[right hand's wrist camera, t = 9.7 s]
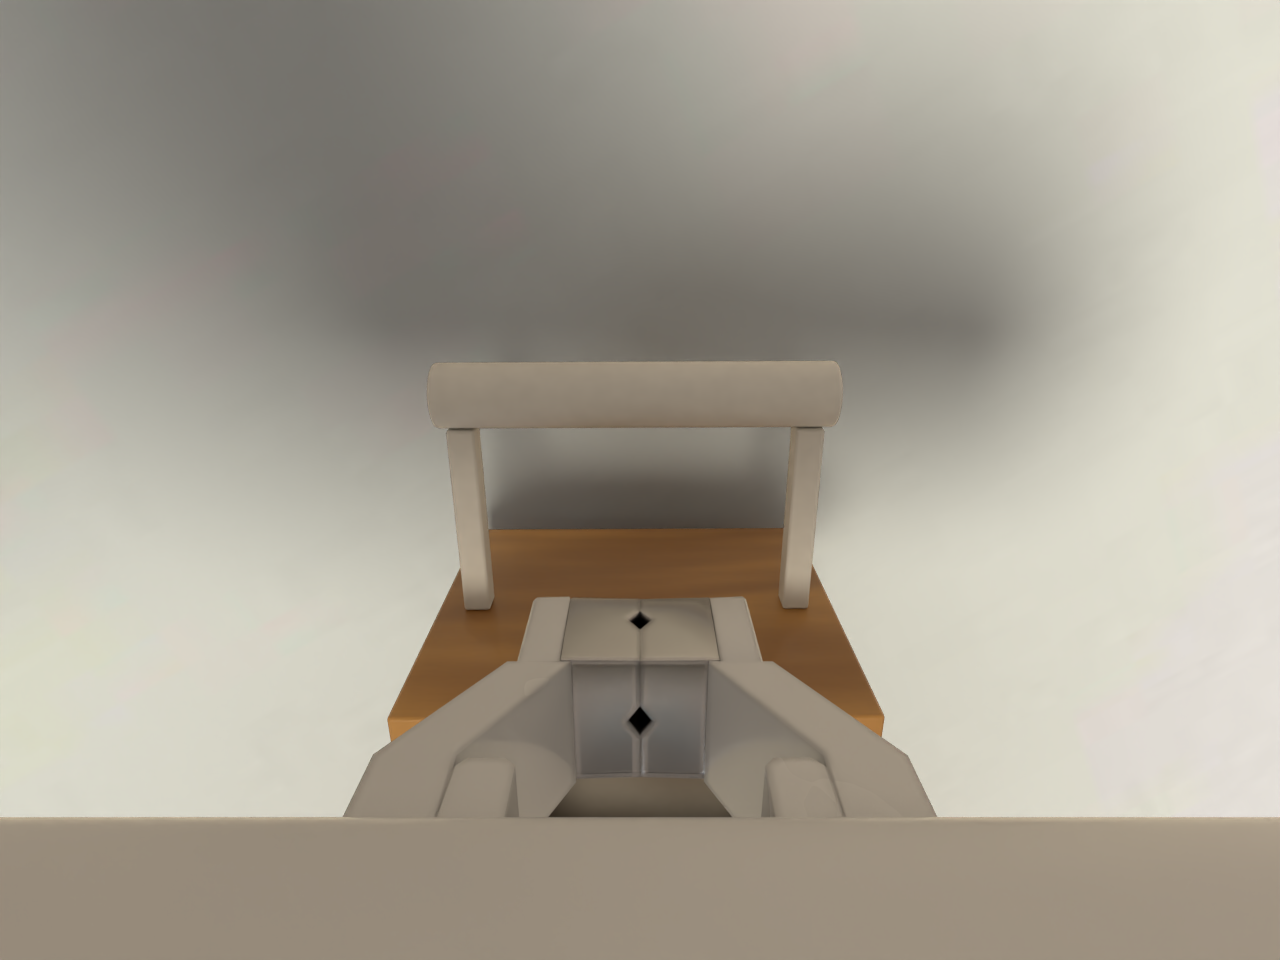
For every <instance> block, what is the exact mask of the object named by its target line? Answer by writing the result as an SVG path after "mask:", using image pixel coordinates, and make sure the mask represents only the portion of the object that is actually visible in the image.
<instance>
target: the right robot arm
mask: <svg viewBox="0 0 1280 960" xmlns="http://www.w3.org/2000/svg"><path fill="white" fill-rule="evenodd" d="M622 777H656V778H693V779H704V782H705V784H706V785H707V786H708V787H709V789H710V790H711V791H712V792H713V794H714V795H715V796H716V797H717V799H718V800H719V801H720V802H721V804H722V805H723V806H724V807H725V809H726V810H727V811H728V812H729V814H730V815H731V816H732V817H549V816H550V814H551V813H552V812H553V811H554V809H555V808H556V807H557V806H558V804H559V803H560V802H561V801H562V799H563V798H564V797H565V796H566V794H567V793H568V792H569V791H570V789H571V788H572V787H573V786H574V784H575V783H576V779H587V778H622ZM0 960H1280V817H937V816H936V813H935V811H934V809H933V807H932V805H931V803H930V801H929V799H928V797H927V795H926V793H925V791H924V788H923V786H922V784H921V782H920V780H919V778H918V776H917V774H916V772H915V770H914V768H913V766H912V763H911V761H910V759H909V757H908V755H906V754H905V753H903V752H902V751H900V750H899V749H898V748H896V747H895V746H893V745H892V744H890V743H889V742H888V741H886V740H885V739H883V738H882V737H880V736H879V735H878V734H876V733H875V732H873V731H872V730H870V729H869V728H868V727H866V726H865V725H863V724H862V723H860V722H859V721H857V720H856V719H855V718H853V717H852V716H850V715H849V714H847V713H846V712H845V711H843V710H842V709H840V708H839V707H837V706H836V705H835V704H833V703H832V702H830V701H829V700H827V699H826V698H825V697H823V696H822V695H820V694H819V693H817V692H816V691H815V690H813V689H812V688H810V687H809V686H807V685H806V684H804V683H803V682H802V681H800V680H799V679H797V678H796V677H794V676H793V675H792V674H790V673H789V672H787V671H786V670H784V669H783V668H782V667H780V666H779V665H777V664H776V663H774V662H773V661H763V660H762V656H761V653H760V649H759V645H758V642H757V638H756V634H755V631H754V627H753V623H752V620H751V616H750V612H749V609H748V605H747V601H746V599H745V598H744V597H743V596H739V597H715V598H709V597H706V598H665V599H640V598H588V597H572V598H570V597H537V598H536V599H535V600H534V601H533V604H532V608H531V611H530V615H529V619H528V623H527V626H526V630H525V634H524V638H523V641H522V645H521V649H520V653H519V656H518V660H517V661H507V662H506V663H504V664H503V665H501V666H500V667H498V668H497V669H496V670H494V671H493V672H491V673H490V674H488V675H487V676H485V677H484V678H483V679H481V680H480V681H478V682H477V683H475V684H474V685H473V686H471V687H470V688H468V689H467V690H465V691H464V692H462V693H461V694H460V695H458V696H457V697H455V698H454V699H452V700H451V701H450V702H448V703H447V704H445V705H444V706H442V707H441V708H439V709H438V710H437V711H435V712H434V713H432V714H431V715H429V716H428V717H426V718H425V719H424V720H422V721H421V722H419V723H418V724H416V725H415V726H414V727H412V728H411V729H409V730H408V731H406V732H405V733H403V734H402V735H401V736H399V737H398V738H396V739H395V740H393V741H392V742H390V743H389V744H388V745H386V746H385V747H383V748H382V749H380V750H379V751H378V752H376V753H375V754H373V756H372V758H371V760H370V762H369V764H368V766H367V768H366V770H365V772H364V774H363V776H362V779H361V781H360V783H359V785H358V787H357V789H356V791H355V793H354V795H353V797H352V799H351V801H350V803H349V805H348V807H347V809H346V811H345V813H344V816H343V817H0Z"/></svg>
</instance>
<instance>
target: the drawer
mask: <svg viewBox="0 0 1280 960" xmlns="http://www.w3.org/2000/svg"><path fill="white" fill-rule="evenodd" d="M842 399H843V383H842V375H841V371H840V367H839V365H838V363H837V362H835V361H679V362H464V363H435V364H433V365H432V366H431V368H430V371H429V375H428V380H427V404H428V410H429V414H430V418H431V421H432V423H433V425H434V426H435V427H437V428H449V429H448V431H447V433H446V437H447V446H448V456H449V465H450V474H451V484H452V493H453V502H454V512H455V521H456V530H457V540H458V549H459V558H460V569H459V571H458V574H457V576H456V578H455V580H454V582H453V584H452V586H451V588H450V590H449V592H448V594H447V596H446V598H445V600H444V602H443V605H442V607H441V609H440V611H439V613H438V615H437V617H436V619H435V621H434V623H433V625H432V627H431V629H430V631H429V634H428V636H427V638H426V640H425V642H424V644H423V646H422V648H421V650H420V652H419V654H418V656H417V658H416V660H415V662H414V665H413V667H412V669H411V671H410V673H409V675H408V677H407V679H406V681H405V683H404V685H403V687H402V689H401V691H400V694H399V696H398V698H397V700H396V702H395V704H394V706H393V708H392V710H391V712H390V714H389V716H388V719H387V720H388V726H389V732H390V739H391V742H392V741H393V740H395V739H396V738H398V737H399V736H401V735H402V734H403V733H405V732H406V731H408V730H409V729H411V728H412V727H414V726H415V725H416V724H418V723H419V722H421V721H422V720H424V719H425V718H426V717H428V716H429V715H431V714H432V713H434V712H435V711H437V710H438V709H439V708H441V707H442V706H444V705H445V704H447V703H448V702H450V701H451V700H452V699H454V698H455V697H457V696H458V695H460V694H461V693H462V692H464V691H465V690H467V689H468V688H470V687H471V686H473V685H474V684H475V683H477V682H478V681H480V680H481V679H483V678H484V677H485V676H487V675H488V674H490V673H491V672H493V671H494V670H496V669H497V668H498V667H500V666H501V665H503V664H504V663H506V662H507V661H517V660H518V656H519V653H520V649H521V645H522V641H523V638H524V634H525V630H526V626H527V623H528V619H529V615H530V611H531V608H532V604H533V601H534V600H535V599H536V598H537V597H570V598H572V597H588V598H640V599H665V598H706V597H709V598H715V597H739V596H743V597H744V598H745V599H746V601H747V605H748V609H749V612H750V616H751V620H752V623H753V627H754V631H755V634H756V638H757V642H758V645H759V649H760V653H761V656H762V660H763V661H773V662H774V663H776V664H777V665H779V666H780V667H782V668H783V669H784V670H786V671H787V672H789V673H790V674H792V675H793V676H794V677H796V678H797V679H799V680H800V681H802V682H803V683H804V684H806V685H807V686H809V687H810V688H812V689H813V690H815V691H816V692H817V693H819V694H820V695H822V696H823V697H825V698H826V699H827V700H829V701H830V702H832V703H833V704H835V705H836V706H837V707H839V708H840V709H842V710H843V711H845V712H846V713H847V714H849V715H850V716H852V717H853V718H855V719H856V720H857V721H859V722H860V723H862V724H863V725H865V726H866V727H868V728H869V729H870V730H872V731H873V732H875V733H876V734H878V735H879V736H880V737H882V730H883V723H884V714H883V712H882V710H881V708H880V706H879V704H878V702H877V700H876V697H875V695H874V693H873V691H872V689H871V687H870V685H869V683H868V681H867V679H866V676H865V674H864V672H863V670H862V668H861V666H860V664H859V662H858V660H857V658H856V655H855V653H854V651H853V649H852V647H851V645H850V643H849V641H848V639H847V636H846V634H845V632H844V630H843V628H842V626H841V624H840V622H839V620H838V618H837V615H836V613H835V611H834V609H833V607H832V605H831V603H830V601H829V599H828V596H827V594H826V592H825V590H824V588H823V586H822V584H821V582H820V580H819V578H818V575H817V573H816V571H815V569H814V567H813V565H812V559H813V548H814V538H815V527H816V516H817V505H818V495H819V484H820V473H821V462H822V452H823V441H824V429H823V428H822V427H832V426H834V425H835V424H836V423H837V421H838V419H839V416H840V412H841V407H842ZM645 427H791V436H790V449H789V462H788V476H787V489H786V502H785V515H784V528H711V529H498V530H488V519H487V508H486V496H485V485H484V474H483V463H482V452H481V441H480V429H479V428H645ZM549 817H732V816H731V815H730V814H729V812H728V811H727V810H726V809H725V807H724V806H723V805H722V804H721V802H720V801H719V800H718V799H717V797H716V796H715V795H714V794H713V792H712V791H711V790H710V789H709V787H708V786H707V785H706V784H705V782H704V779H693V778H656V777H622V778H587V779H576V783H575V784H574V786H573V787H572V788H571V789H570V791H569V792H568V793H567V794H566V796H565V797H564V798H563V799H562V801H561V802H560V803H559V804H558V806H557V807H556V808H555V809H554V811H553V812H552V813H551V814H550V816H549Z"/></svg>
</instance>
